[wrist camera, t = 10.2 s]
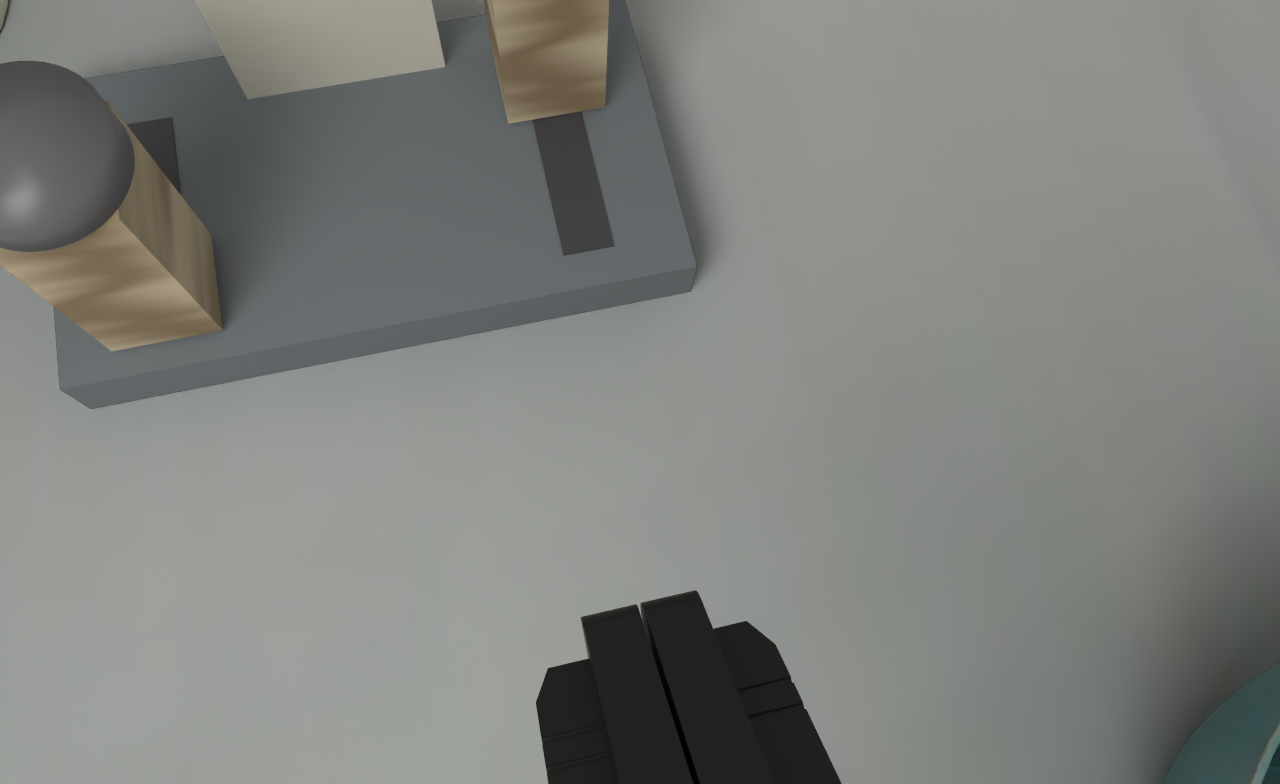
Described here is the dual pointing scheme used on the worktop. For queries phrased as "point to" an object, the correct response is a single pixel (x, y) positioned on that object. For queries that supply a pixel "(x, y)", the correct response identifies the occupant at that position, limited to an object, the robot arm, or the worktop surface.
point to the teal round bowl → (1236, 739)
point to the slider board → (384, 192)
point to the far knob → (549, 55)
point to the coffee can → (3, 11)
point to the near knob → (97, 216)
